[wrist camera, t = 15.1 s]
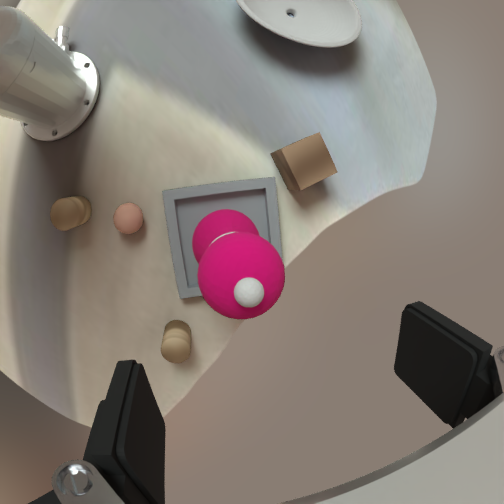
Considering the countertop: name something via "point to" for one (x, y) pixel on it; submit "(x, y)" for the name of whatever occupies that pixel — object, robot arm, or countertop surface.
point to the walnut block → (304, 162)
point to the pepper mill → (236, 265)
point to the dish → (308, 20)
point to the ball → (128, 218)
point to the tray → (205, 202)
